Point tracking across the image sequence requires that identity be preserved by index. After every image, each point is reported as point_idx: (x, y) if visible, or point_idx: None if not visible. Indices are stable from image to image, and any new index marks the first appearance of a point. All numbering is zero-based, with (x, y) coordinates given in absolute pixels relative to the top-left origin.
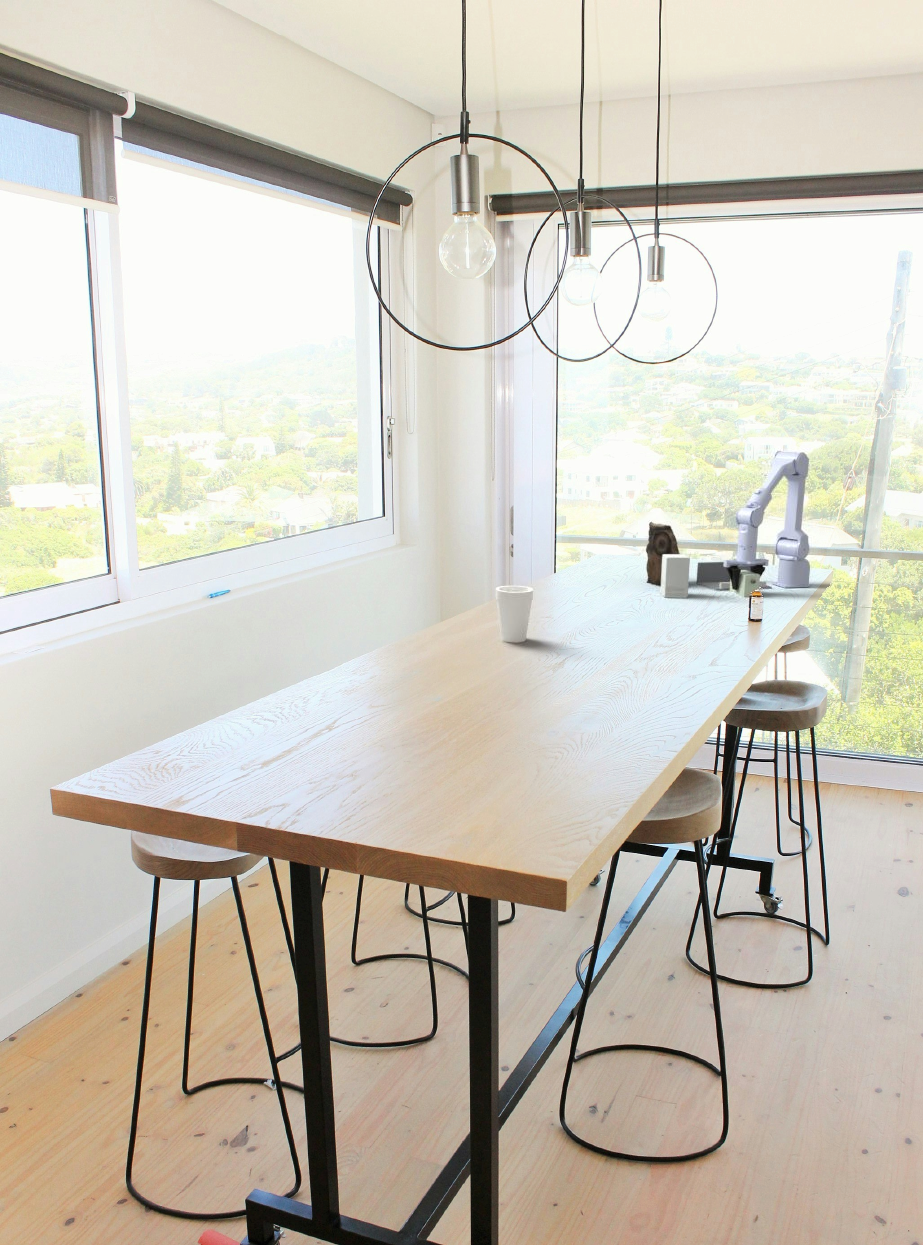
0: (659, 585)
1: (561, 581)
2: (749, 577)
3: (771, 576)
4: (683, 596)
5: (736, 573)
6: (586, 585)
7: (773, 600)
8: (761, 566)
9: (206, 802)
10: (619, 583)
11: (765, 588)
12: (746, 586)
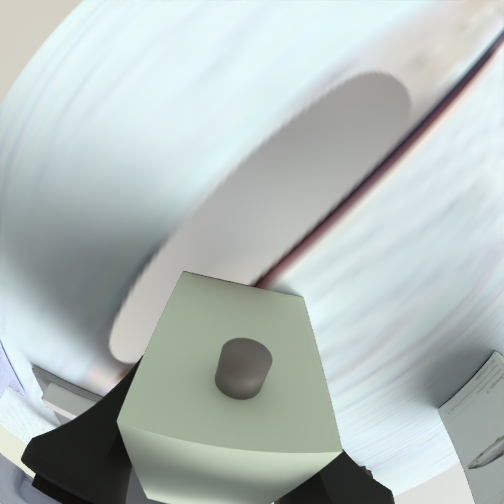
0: (371, 473)
1: (438, 472)
2: (281, 426)
3: (21, 420)
4: (501, 355)
5: (359, 480)
6: (450, 458)
7: (179, 97)
8: (50, 483)
9: None
10: (400, 477)
11: (55, 376)
12: (300, 351)
